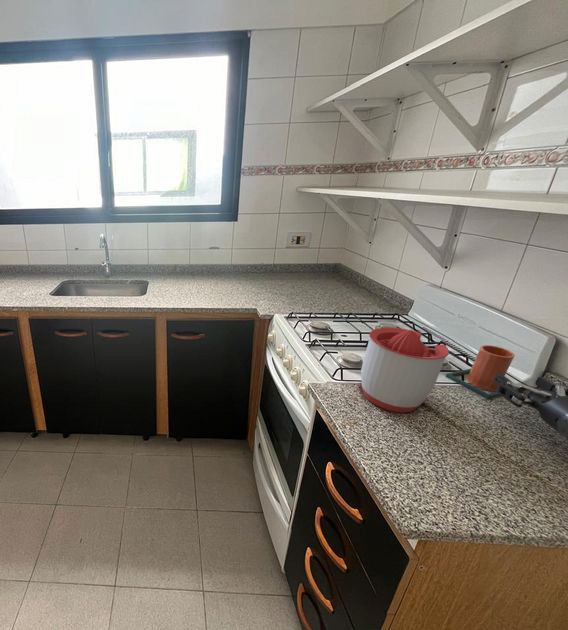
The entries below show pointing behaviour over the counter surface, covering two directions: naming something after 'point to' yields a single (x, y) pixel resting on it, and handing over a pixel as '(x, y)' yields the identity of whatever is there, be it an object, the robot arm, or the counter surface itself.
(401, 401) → the citrus juicer
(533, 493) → the counter surface
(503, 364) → the tumbler
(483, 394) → the frame
